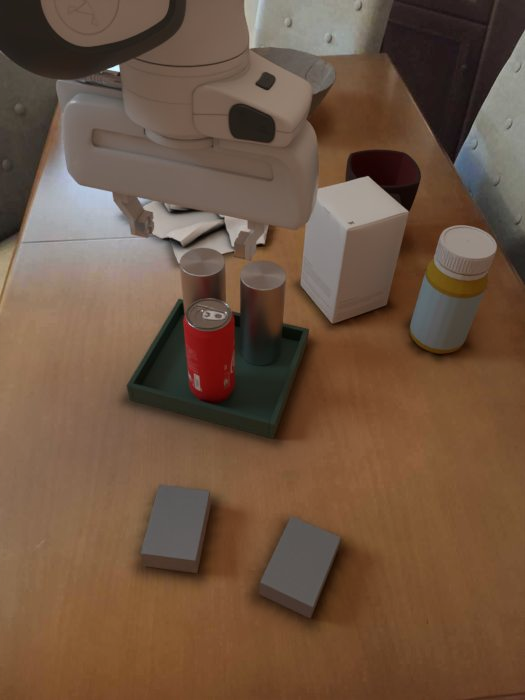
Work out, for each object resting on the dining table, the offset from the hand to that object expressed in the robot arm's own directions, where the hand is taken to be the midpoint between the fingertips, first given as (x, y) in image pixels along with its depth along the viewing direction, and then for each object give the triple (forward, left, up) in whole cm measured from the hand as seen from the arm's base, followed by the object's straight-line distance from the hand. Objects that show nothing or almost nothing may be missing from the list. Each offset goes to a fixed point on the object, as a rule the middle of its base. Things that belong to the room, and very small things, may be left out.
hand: (193, 243), depth 52 cm
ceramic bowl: (-12, +67, -23) cm, 72 cm away
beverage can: (0, +2, -22) cm, 22 cm away
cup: (+13, +35, -23) cm, 44 cm away
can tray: (0, +5, -22) cm, 23 cm away
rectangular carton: (+11, +23, -23) cm, 34 cm away
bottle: (+24, +19, -23) cm, 38 cm away
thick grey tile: (+3, -16, -22) cm, 28 cm away
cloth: (-14, +33, -23) cm, 42 cm away
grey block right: (+15, -16, -22) cm, 31 cm away
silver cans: (0, +9, -22) cm, 24 cm away
